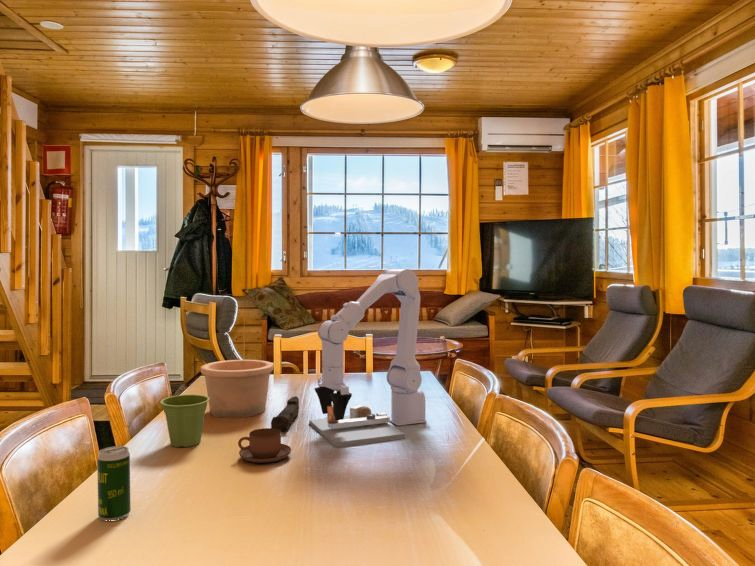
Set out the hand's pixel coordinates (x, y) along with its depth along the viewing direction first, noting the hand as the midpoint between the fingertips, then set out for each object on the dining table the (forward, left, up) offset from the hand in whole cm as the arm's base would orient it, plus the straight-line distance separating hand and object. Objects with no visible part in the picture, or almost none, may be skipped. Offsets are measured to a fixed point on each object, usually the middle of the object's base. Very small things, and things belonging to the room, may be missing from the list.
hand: (332, 416), depth 158 cm
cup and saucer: (+21, +12, -5) cm, 24 cm away
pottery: (+19, -35, -5) cm, 40 cm away
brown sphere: (-12, -7, -4) cm, 14 cm away
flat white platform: (-7, 0, -5) cm, 8 cm away
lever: (-8, -1, -3) cm, 8 cm away
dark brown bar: (+8, -17, -5) cm, 20 cm away
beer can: (+53, +33, -5) cm, 63 cm away
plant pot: (+37, -7, -5) cm, 38 cm away
